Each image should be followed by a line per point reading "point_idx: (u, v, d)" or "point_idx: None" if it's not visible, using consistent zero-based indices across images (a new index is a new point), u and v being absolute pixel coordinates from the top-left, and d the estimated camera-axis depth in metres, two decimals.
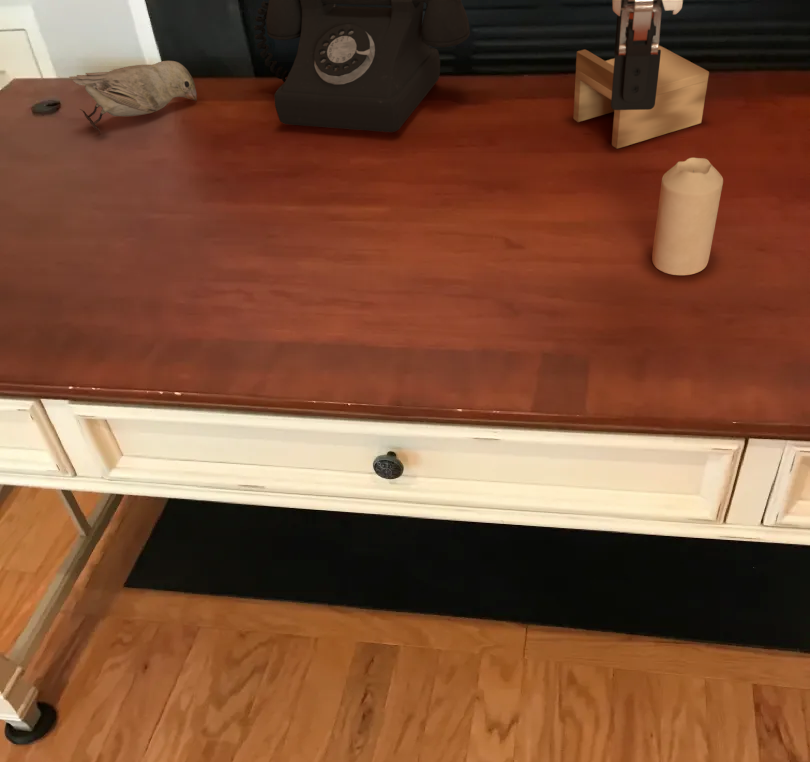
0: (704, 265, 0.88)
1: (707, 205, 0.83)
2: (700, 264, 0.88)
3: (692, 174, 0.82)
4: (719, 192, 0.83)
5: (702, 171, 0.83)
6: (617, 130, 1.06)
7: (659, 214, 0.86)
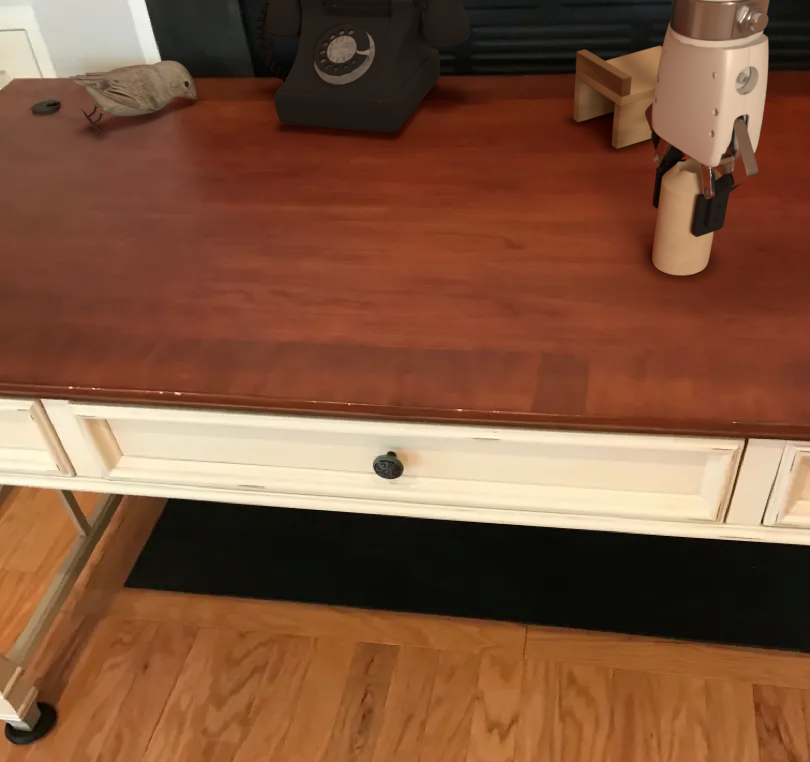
0: (704, 265, 0.88)
1: None
2: (700, 264, 0.88)
3: (692, 174, 0.82)
4: None
5: None
6: (617, 130, 1.06)
7: (659, 214, 0.86)
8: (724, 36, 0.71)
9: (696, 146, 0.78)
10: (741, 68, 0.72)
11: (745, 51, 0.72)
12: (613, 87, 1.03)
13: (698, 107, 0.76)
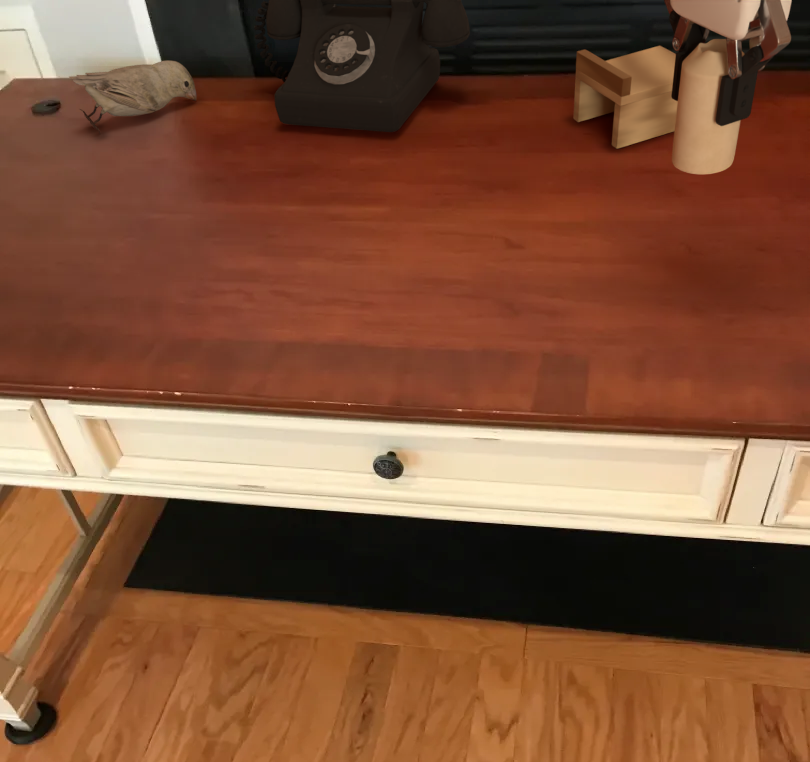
0: (729, 163, 0.81)
1: None
2: (725, 161, 0.80)
3: (716, 54, 0.74)
4: None
5: (726, 53, 0.76)
6: (617, 130, 1.06)
7: (679, 105, 0.78)
8: None
9: (721, 17, 0.71)
10: None
11: None
12: (613, 87, 1.03)
13: None
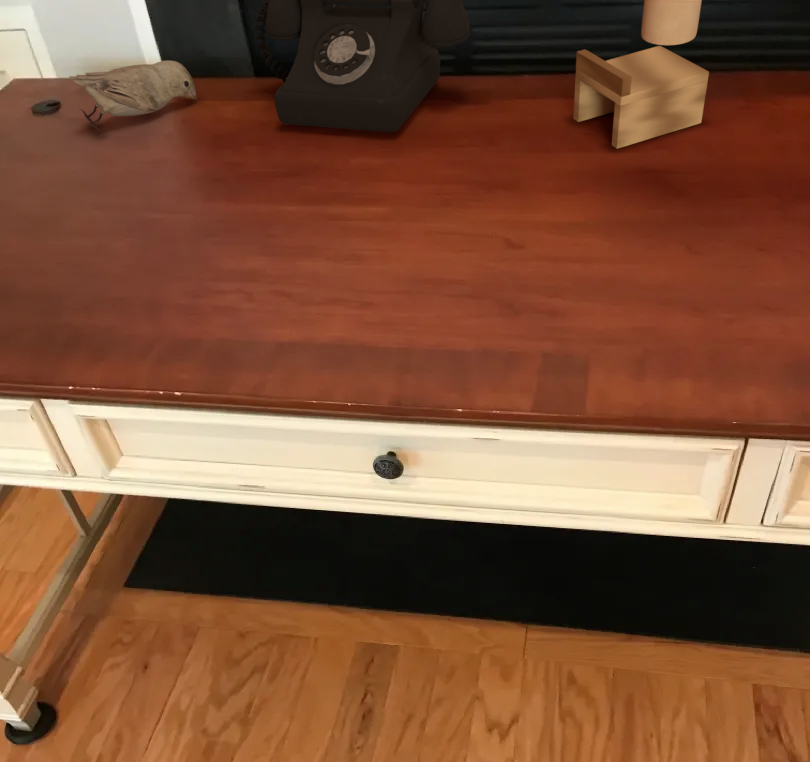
0: (693, 35, 0.90)
1: None
2: (689, 33, 0.89)
3: None
4: None
5: None
6: (617, 130, 1.06)
7: None
8: None
9: None
10: None
11: None
12: (613, 87, 1.03)
13: None
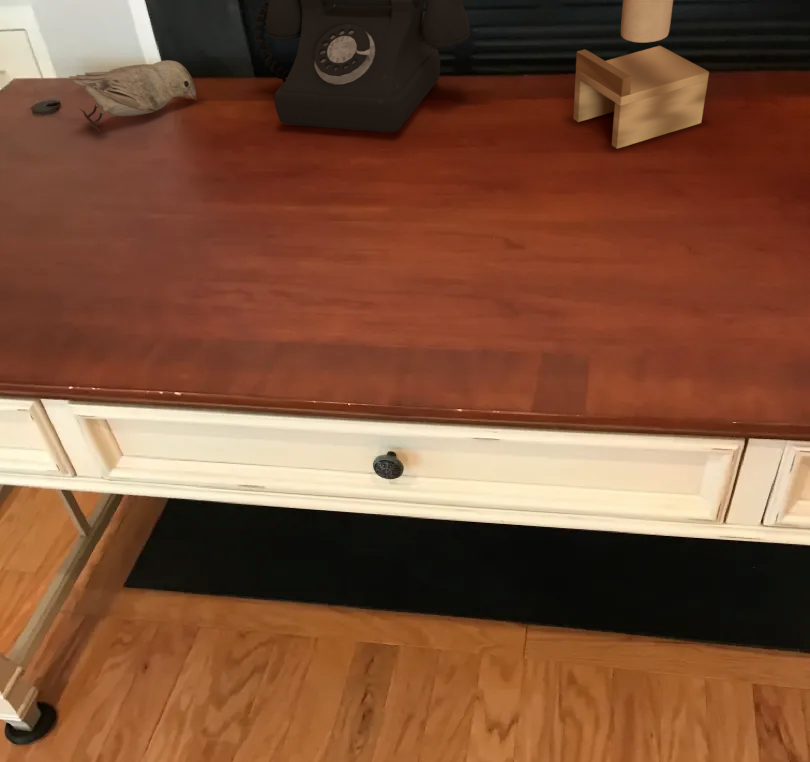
0: (665, 34, 1.02)
1: None
2: (661, 31, 1.02)
3: None
4: None
5: None
6: (617, 130, 1.06)
7: None
8: None
9: None
10: None
11: None
12: (613, 87, 1.03)
13: None
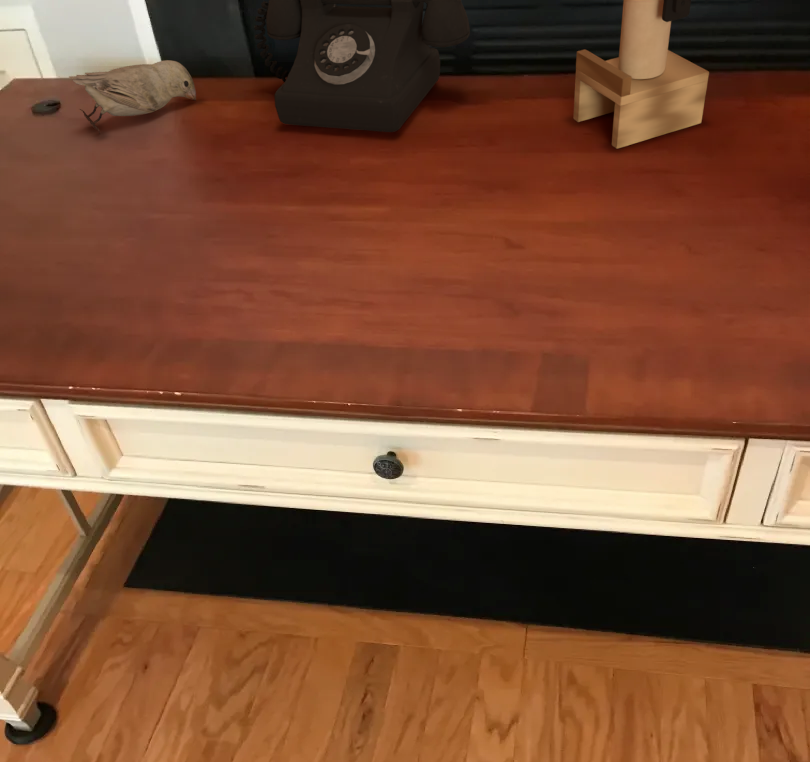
0: (661, 70, 1.05)
1: (662, 11, 1.00)
2: (658, 69, 1.05)
3: None
4: None
5: None
6: (617, 130, 1.06)
7: (622, 23, 1.03)
8: None
9: None
10: None
11: None
12: (613, 87, 1.03)
13: None
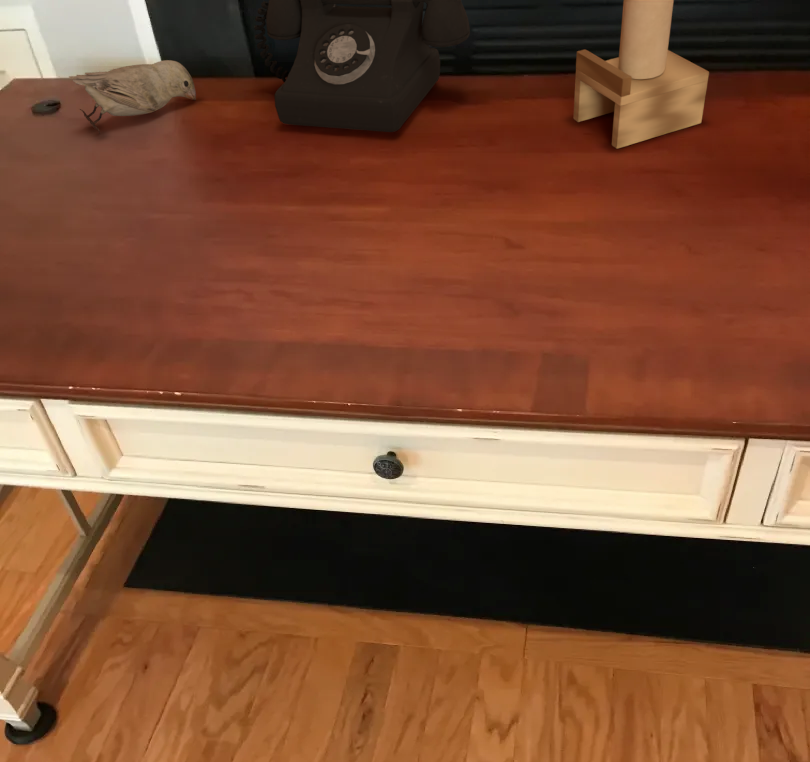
0: (661, 70, 1.05)
1: (662, 11, 1.00)
2: (658, 69, 1.05)
3: None
4: (671, 0, 1.00)
5: None
6: (617, 130, 1.06)
7: (622, 23, 1.03)
8: None
9: None
10: None
11: None
12: (613, 87, 1.03)
13: None
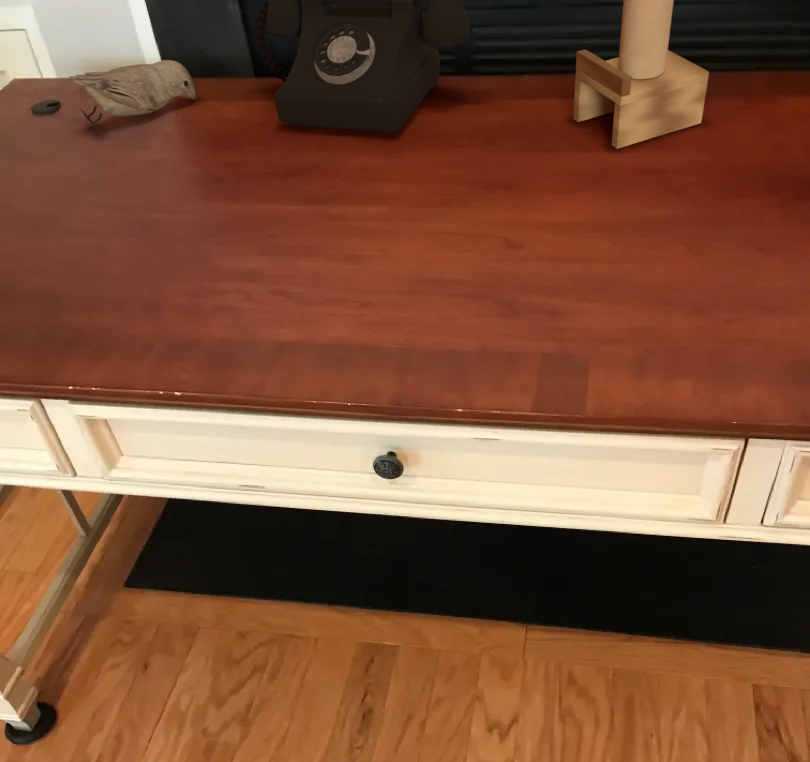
0: (661, 70, 1.05)
1: (662, 11, 1.00)
2: (658, 69, 1.05)
3: None
4: (671, 0, 1.00)
5: None
6: (617, 130, 1.06)
7: (622, 23, 1.03)
8: None
9: None
10: None
11: None
12: (613, 87, 1.03)
13: None
